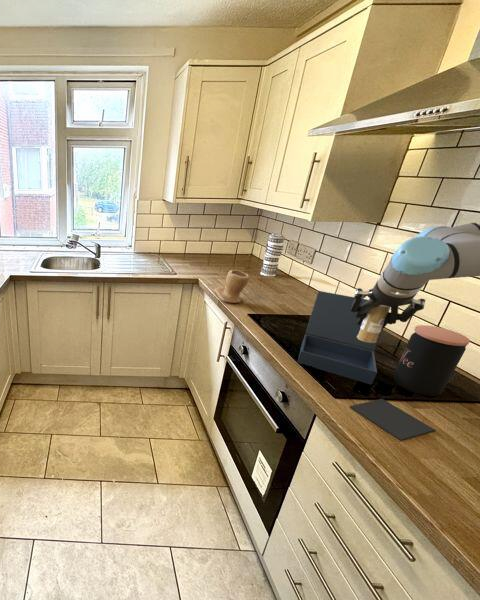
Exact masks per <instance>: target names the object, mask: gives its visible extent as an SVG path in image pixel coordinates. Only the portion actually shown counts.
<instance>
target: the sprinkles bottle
mask: <svg viewBox="0 0 480 600" xmlns="http://www.w3.org/2000/svg"><path fill="white" fill-rule="evenodd" d="M389 308H390V309H391V307H389V306H385V305H380V306H378V307H374V308H373V309H371V310H370V311H368V312H367V314H366V317H365V318H364V320H363V322H362V325H361V327H360V331H359V334H358V335H357V338H358V339H359V340H361V341H363V342H367V343H376V342H377V338H378V335H379V333H380V331H381V329H382V326H383V324H384V321H385V318H386V316H387V313H388V311H389V312H390V310H389ZM381 332H382V331H381ZM377 343H378V342H377Z"/></svg>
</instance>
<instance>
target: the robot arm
mask: <svg viewBox="0 0 480 600" xmlns="http://www.w3.org/2000/svg"><path fill="white" fill-rule="evenodd" d="M471 277H480V220H478V221H474V222H469V223H463V224H459V225H455V226H437V225H436V226H431V227H427V228H426V229H424V230H422V231H421V232H419V233H418V234H417V235H416V236H415V237H412V238H410V239H407V240H405V241H403V242H402V243H401V244H400V245H399V246H398V248H397V249H396V250H395V251H394V252H393V253H392V255H391V257H390V259H389V261H388V263H387V265H386V267H385V268H384V270H383V272H382V273H381V275H380V277H379V278H378V279H377V281H376V282H375V284H374V286H373V287H372V288H370V289H369V290H363V288H360V287H358V288H356V289H355V291H354V296H353V297H355V299H354V302H353V304H352V307H351V312H357V313H356V317H358V322H357V324H358V325H360V324H361V323H362V321H363V320H364V318H365V317H366V314H367V312H368V311H370V310H371V309H373V308H374V307H378V306H380V305H385V306H389V307H390V311H389V312H388V313H387V316H386V318H385V321H384V324H383V326H382V329H381V330H382V331H383V330H384V328H385V327H386V326H387V325H395V324H396V323H397V321H400V322H402V323H406V322H408V321H409V320H410V319H411V318H412V317H413V316H414V315H415V314H416V313H417V312H419V311H422V310H424V308H425V304H426V299H425V298H418V299H415V297H416V296H417V294H418V293H419V292H420V291H421V289H422V288H423V287H424V286H425V285H426V284H427V283H428V282H429V281H431V280H432V281H433V280H445V279H447V280H448V279H456V278H458V279H459V278H471ZM366 297H368V298H369V299H367V300H368V301H366V302H365V303H363V304H360V303H361V301H362V300H363V299H366ZM359 305H360V306H359ZM407 305H408V306H407ZM401 306H406V308H404V310H403V311H402V312H401V313H399V308H400V307H401Z"/></svg>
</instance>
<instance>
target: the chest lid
mask: <svg viewBox="0 0 480 600" xmlns="http://www.w3.org/2000/svg"><path fill="white" fill-rule="evenodd" d="M354 299H355V297H354V296H350V295H344V294H339V293H332V292H327V291H324V290H323V291H322V290H318V291H317V294H316V297H315V301H314V304H313V307H312V309H311V310H312V311H311V314H310V318H309V320H308V323H307V327H306V330H305V334H307V335H311V336H315V337H319V338H323V339H327V340H331V341H335V342H339V343H343V344H347V345H351V346H355V347H359V348H363V349H367V350H371V351H375V350H376V348H377V344H378V342H379V339H380V337H381V334H382V331H383V330H381V331H380V333H379V335H378V338H377V342H376V343H367V342H363V341H361V340H359V339H358V338H357V335H358V334H359V331H360V327H361V325H362V323H361V324H360V325H358V324H357V322H358V317H356V313H357V312H351V307H352V304H353V302H354ZM368 300H369V299H366V298H364V299H363V300H362V301H361V303H360V304H363V303H365V302H366V301H368ZM359 306H360V305H359ZM390 311H391V307H390V308H389V311H388V312H390ZM362 322H363V321H362Z"/></svg>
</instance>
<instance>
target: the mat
mask: <svg viewBox="0 0 480 600" xmlns="http://www.w3.org/2000/svg"><path fill="white" fill-rule="evenodd" d="M349 408H350V409H351V410H353V411H354V412H356V413H357V414H358V415H360V416H361V417H363V418H365V419H367V420H368V421H369V422H371V423H372V424H374V425H376V426H377V427H379V428H380V429H382V430H383V431H384V432H385V433H388V434H389V435H391V436H392V437H394V438H395V439H397V440H398V441H399V442H402V441H406V440H409V439H412V438H416V437H419V436H423V435H426V434H430V433H434V432H436V429H435V428H434V427H432V426H430V425H428V424H427V423H425V422H423V421H422V420H420V419H418V418H416V417H415V416H413V415H411V414H409V413H407V412H406V411H404V410H403V409H401V408H399V407H397V406H396V405H394V404H393V403H390V402H389V401H387V400H385V399H384V398H379V399H374V400H370V401H367V402H362V403H358V404H353V405H349Z"/></svg>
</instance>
